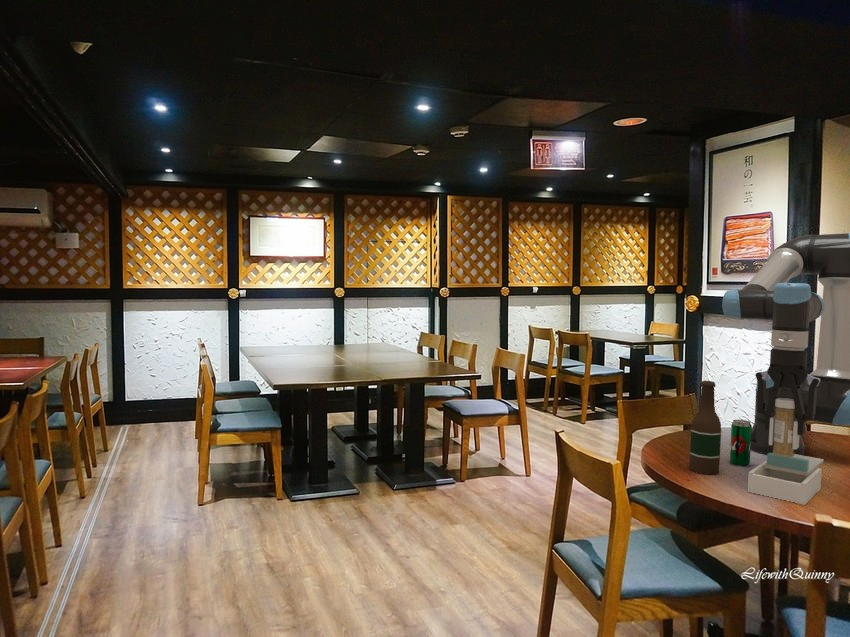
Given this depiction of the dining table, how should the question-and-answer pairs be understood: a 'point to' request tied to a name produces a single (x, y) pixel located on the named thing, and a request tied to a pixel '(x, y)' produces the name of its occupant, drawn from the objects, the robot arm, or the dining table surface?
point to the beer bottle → (705, 434)
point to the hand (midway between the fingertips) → (783, 445)
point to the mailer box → (784, 484)
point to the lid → (793, 463)
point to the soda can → (740, 442)
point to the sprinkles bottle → (784, 427)
